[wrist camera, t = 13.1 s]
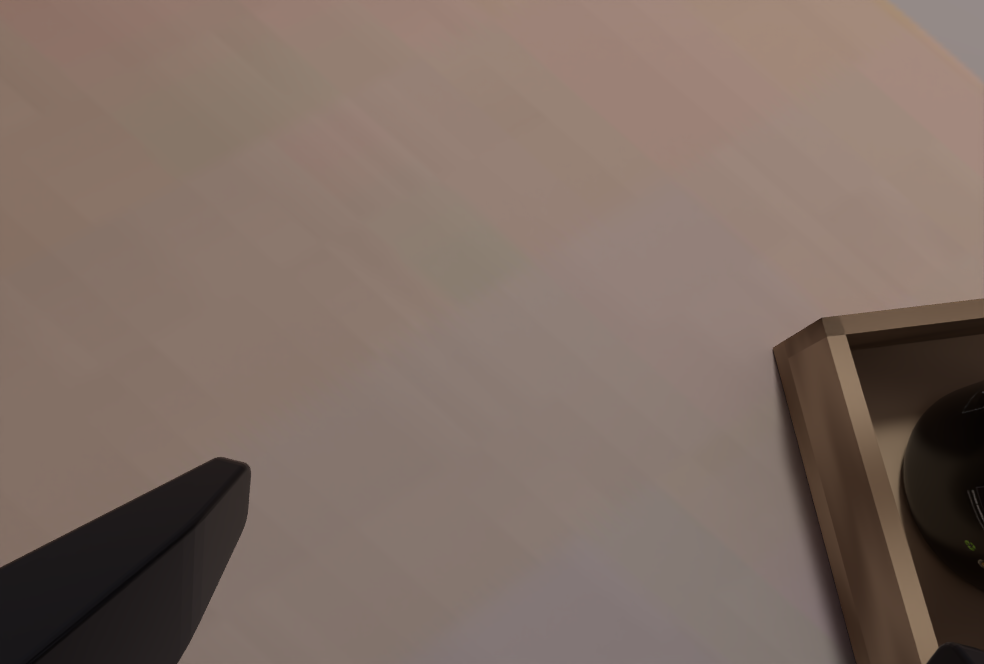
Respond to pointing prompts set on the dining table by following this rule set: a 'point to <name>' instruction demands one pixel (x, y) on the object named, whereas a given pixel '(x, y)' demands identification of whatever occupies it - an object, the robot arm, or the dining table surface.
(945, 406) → the supplement bottle
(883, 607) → the wooden desk organizer
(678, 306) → the dining table surface
